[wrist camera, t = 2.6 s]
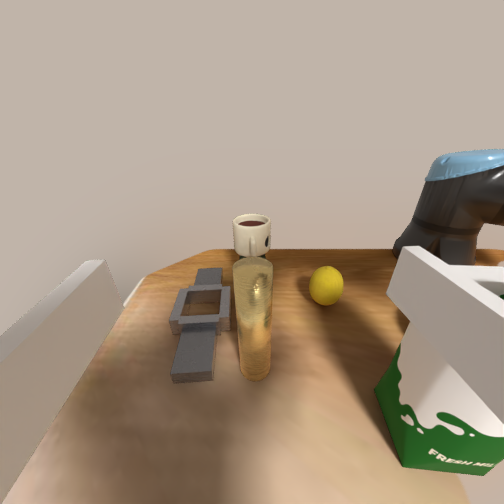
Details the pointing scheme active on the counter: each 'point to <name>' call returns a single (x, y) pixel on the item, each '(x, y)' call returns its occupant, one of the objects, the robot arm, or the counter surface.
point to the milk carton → (440, 403)
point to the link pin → (253, 315)
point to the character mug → (251, 235)
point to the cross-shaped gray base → (199, 327)
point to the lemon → (326, 285)
